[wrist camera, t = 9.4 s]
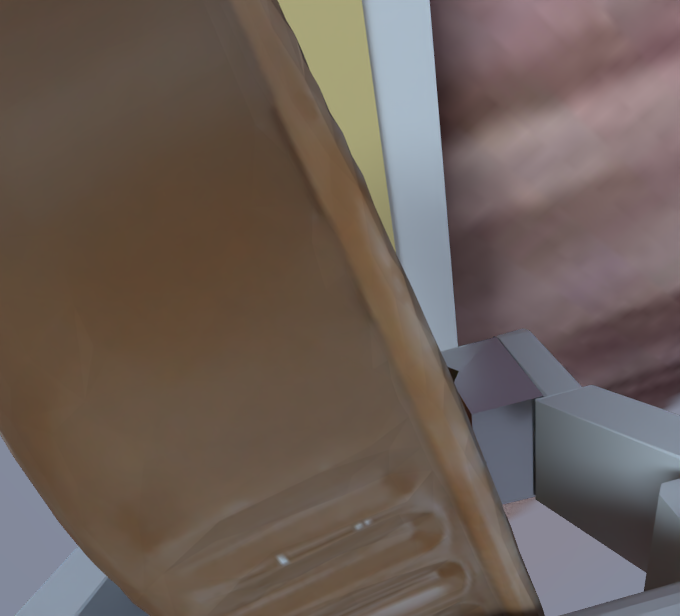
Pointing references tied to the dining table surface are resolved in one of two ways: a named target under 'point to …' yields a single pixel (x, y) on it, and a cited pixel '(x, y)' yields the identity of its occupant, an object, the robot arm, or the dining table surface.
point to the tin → (224, 330)
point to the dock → (389, 128)
